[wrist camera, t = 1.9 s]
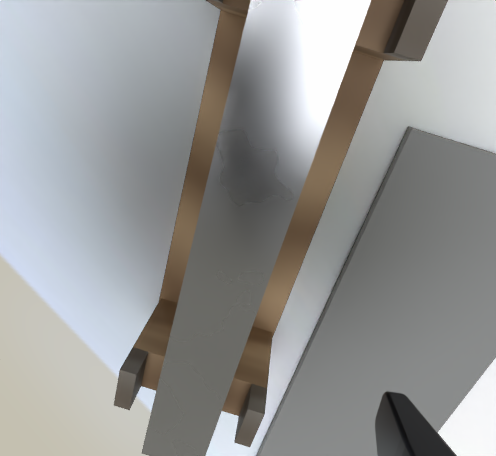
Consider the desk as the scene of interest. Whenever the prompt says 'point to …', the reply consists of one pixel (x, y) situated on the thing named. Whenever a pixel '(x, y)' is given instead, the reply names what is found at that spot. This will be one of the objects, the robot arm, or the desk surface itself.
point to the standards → (308, 206)
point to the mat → (402, 305)
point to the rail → (249, 204)
